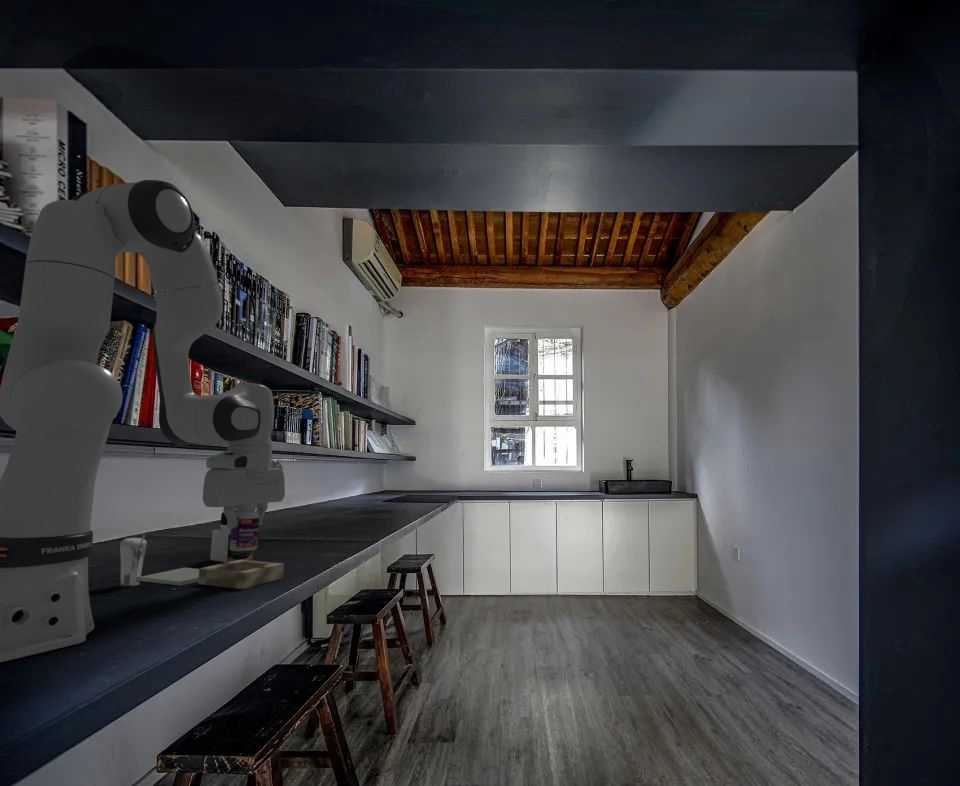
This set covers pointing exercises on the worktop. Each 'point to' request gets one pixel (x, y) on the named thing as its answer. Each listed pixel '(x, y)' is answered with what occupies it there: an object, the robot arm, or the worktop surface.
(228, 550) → the medicine bottle
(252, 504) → the pill bottle
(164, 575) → the sage mat
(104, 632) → the worktop surface
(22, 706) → the worktop surface
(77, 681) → the worktop surface
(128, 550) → the milkshake
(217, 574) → the socket block
